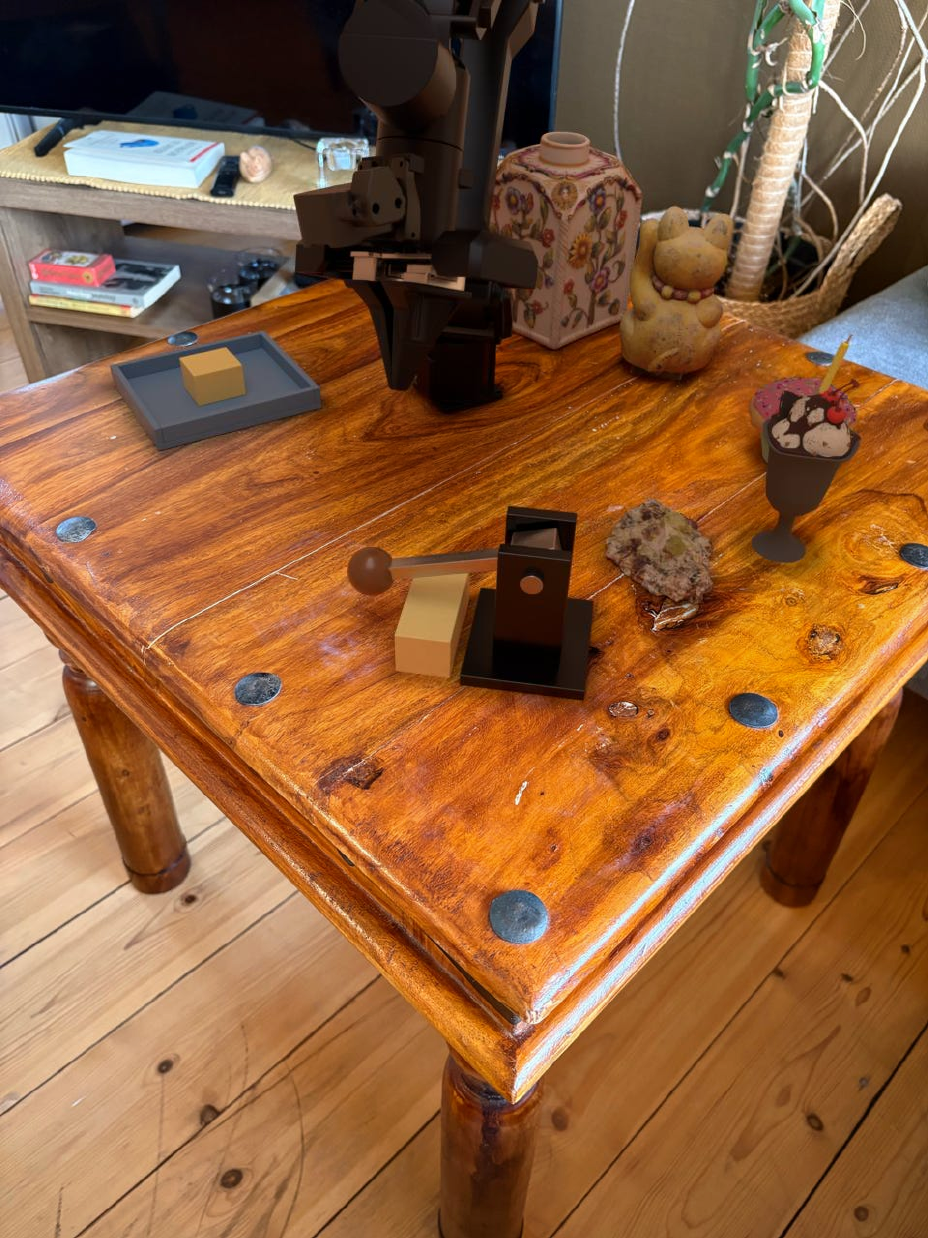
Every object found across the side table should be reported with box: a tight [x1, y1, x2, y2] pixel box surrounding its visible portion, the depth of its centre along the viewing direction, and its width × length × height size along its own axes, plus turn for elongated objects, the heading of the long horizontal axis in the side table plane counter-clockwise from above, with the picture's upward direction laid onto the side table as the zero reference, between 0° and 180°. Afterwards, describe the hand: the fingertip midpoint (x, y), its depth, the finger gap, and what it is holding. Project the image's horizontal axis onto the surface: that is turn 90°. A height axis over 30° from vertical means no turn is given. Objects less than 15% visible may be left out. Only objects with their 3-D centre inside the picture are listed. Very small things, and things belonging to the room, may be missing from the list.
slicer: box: [459, 505, 595, 702], centre depth 64 cm, size 8×9×10 cm
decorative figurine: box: [619, 205, 734, 382], centre depth 92 cm, size 10×8×15 cm
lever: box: [346, 528, 562, 597], centre depth 63 cm, size 14×3×3 cm, turn 81°
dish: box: [109, 330, 323, 452], centre depth 91 cm, size 15×13×2 cm
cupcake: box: [748, 333, 859, 464], centre depth 81 cm, size 9×8×12 cm
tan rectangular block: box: [394, 573, 471, 679], centre depth 66 cm, size 8×4×4 cm, turn 171°
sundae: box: [751, 378, 862, 564], centre depth 71 cm, size 7×7×15 cm
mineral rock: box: [605, 498, 715, 605], centre depth 73 cm, size 11×4×8 cm
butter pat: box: [179, 347, 246, 406], centre depth 90 cm, size 4×4×3 cm
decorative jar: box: [489, 131, 643, 351], centre depth 100 cm, size 12×12×18 cm
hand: (398, 390), depth 69 cm, fingers closed
